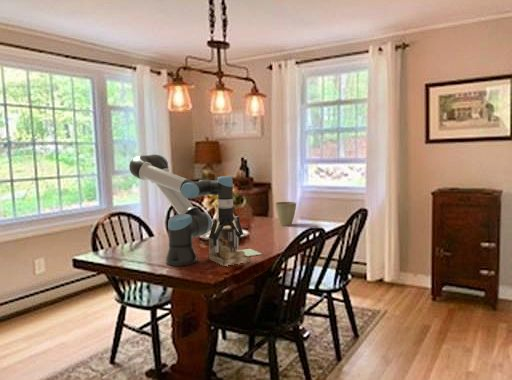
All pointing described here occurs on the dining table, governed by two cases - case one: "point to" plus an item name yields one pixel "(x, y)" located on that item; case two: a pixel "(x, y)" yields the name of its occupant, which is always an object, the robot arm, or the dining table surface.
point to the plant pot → (286, 212)
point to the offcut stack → (234, 255)
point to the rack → (220, 261)
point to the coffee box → (226, 241)
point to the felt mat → (250, 252)
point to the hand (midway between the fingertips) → (226, 250)
